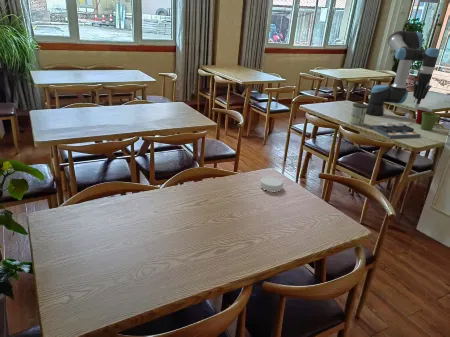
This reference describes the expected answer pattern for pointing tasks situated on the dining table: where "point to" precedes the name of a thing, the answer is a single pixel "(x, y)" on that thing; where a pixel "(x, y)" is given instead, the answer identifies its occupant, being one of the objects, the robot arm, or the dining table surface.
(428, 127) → the plant pot
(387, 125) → the switch
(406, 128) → the switch panel
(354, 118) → the coffee can
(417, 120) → the plastic cup
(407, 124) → the switch
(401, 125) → the switch middle
